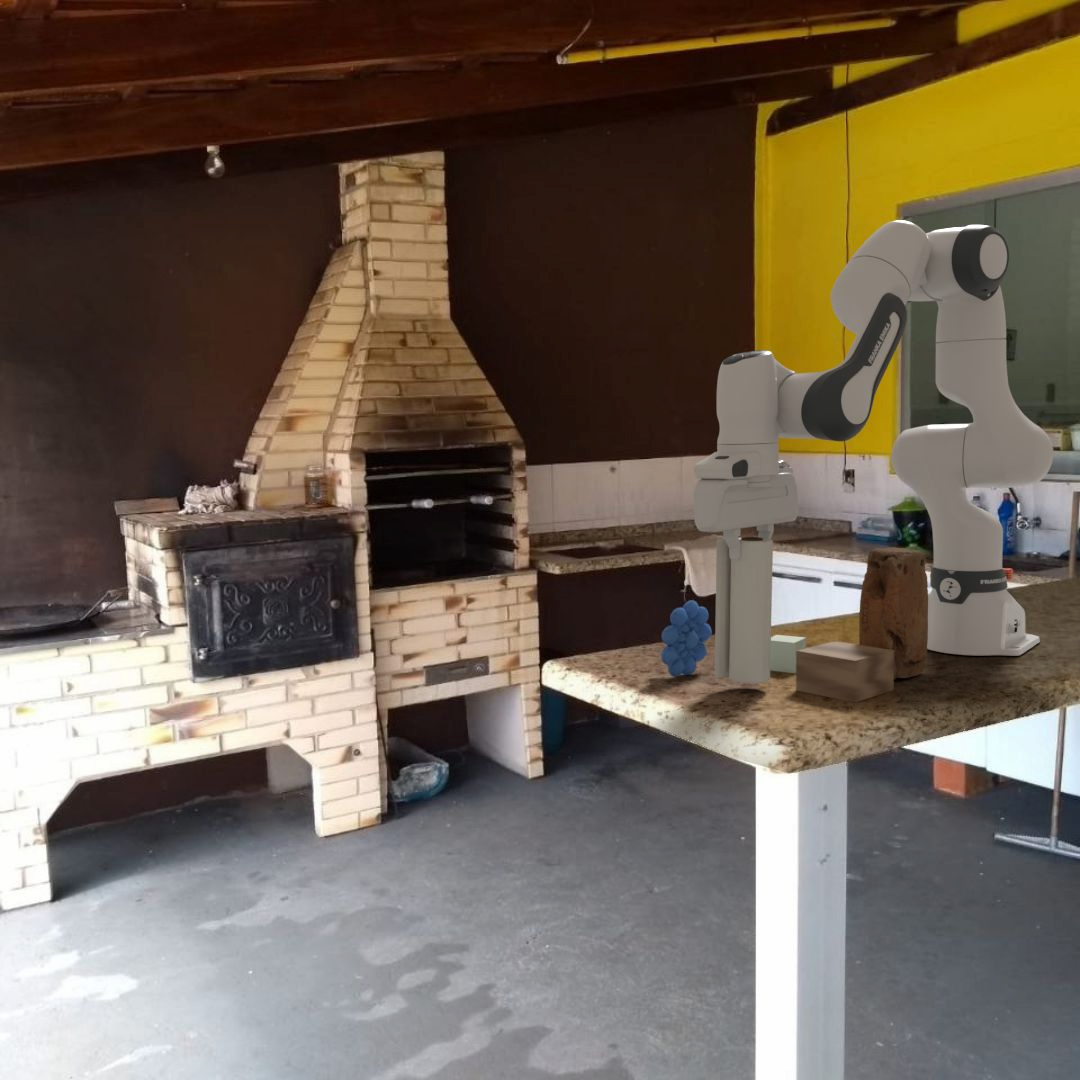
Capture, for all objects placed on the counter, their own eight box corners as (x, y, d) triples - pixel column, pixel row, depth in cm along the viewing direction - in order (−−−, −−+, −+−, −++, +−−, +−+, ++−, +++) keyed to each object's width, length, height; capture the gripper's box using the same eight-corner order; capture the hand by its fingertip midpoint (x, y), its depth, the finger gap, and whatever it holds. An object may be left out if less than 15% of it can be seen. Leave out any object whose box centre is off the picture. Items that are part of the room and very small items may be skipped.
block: (889, 666, 170) (890, 544, 168) (932, 674, 165) (934, 547, 163) (851, 678, 163) (852, 550, 161) (895, 686, 158) (896, 553, 156)
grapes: (688, 665, 174) (687, 594, 173) (721, 671, 170) (720, 598, 168) (642, 677, 166) (641, 603, 165) (675, 684, 162) (675, 607, 160)
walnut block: (835, 679, 163) (835, 641, 162) (893, 690, 155) (893, 650, 154) (796, 690, 156) (796, 650, 156) (855, 702, 149) (855, 660, 148)
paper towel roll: (777, 679, 157) (780, 537, 155) (757, 687, 153) (760, 541, 150) (735, 671, 162) (737, 534, 159) (714, 679, 157) (716, 537, 155)
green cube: (776, 664, 174) (776, 634, 174) (805, 667, 172) (806, 637, 171) (765, 670, 170) (765, 639, 170) (794, 673, 167) (794, 642, 167)
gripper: (774, 459, 162) (775, 548, 164) (685, 467, 149) (687, 563, 151) (808, 459, 158) (809, 550, 159) (720, 467, 145) (721, 566, 146)
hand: (749, 557), depth 155 cm, fingers closed on paper towel roll, 4 cm apart
